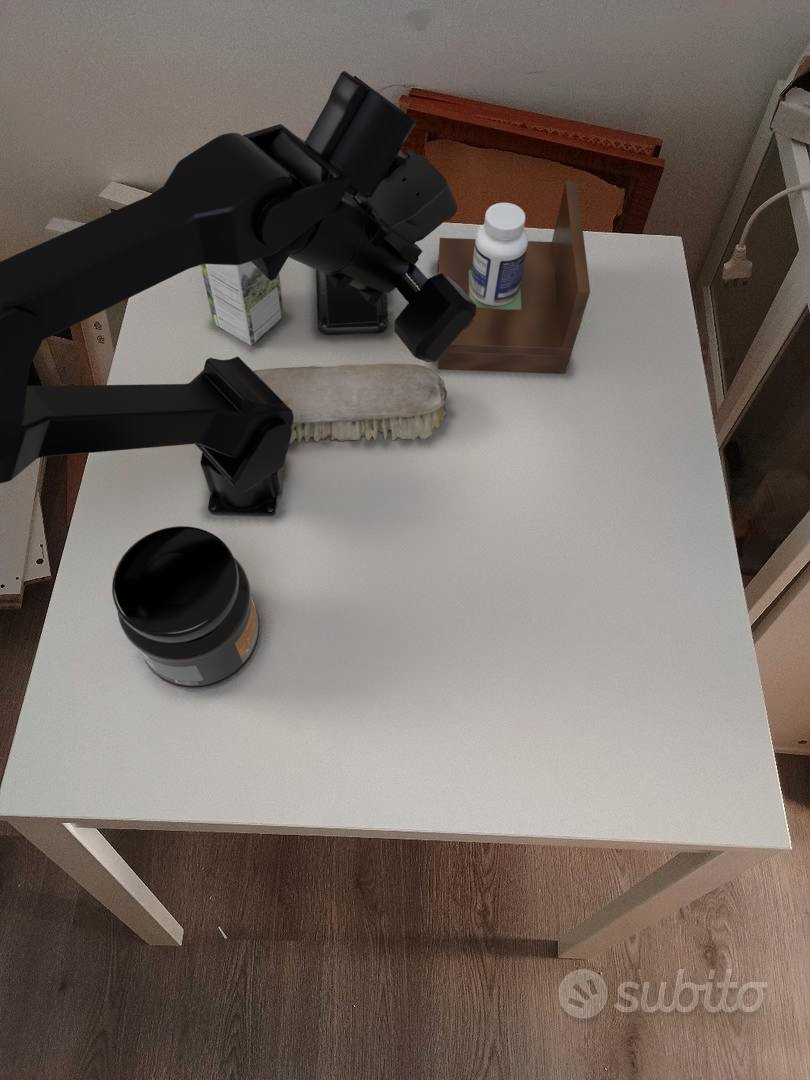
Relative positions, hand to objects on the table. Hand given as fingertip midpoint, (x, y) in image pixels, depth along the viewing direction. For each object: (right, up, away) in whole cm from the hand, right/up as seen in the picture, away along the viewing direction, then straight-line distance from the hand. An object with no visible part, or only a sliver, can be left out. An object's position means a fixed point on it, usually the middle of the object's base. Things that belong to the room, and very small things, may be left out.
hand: (441, 292), depth 77 cm
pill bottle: (+6, +4, +13) cm, 15 cm away
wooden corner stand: (+7, +2, +16) cm, 18 cm away
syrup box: (-21, +1, +15) cm, 26 cm away
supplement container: (-21, -32, -3) cm, 39 cm away
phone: (-10, +6, +18) cm, 21 cm away
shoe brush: (-11, -11, +9) cm, 18 cm away
